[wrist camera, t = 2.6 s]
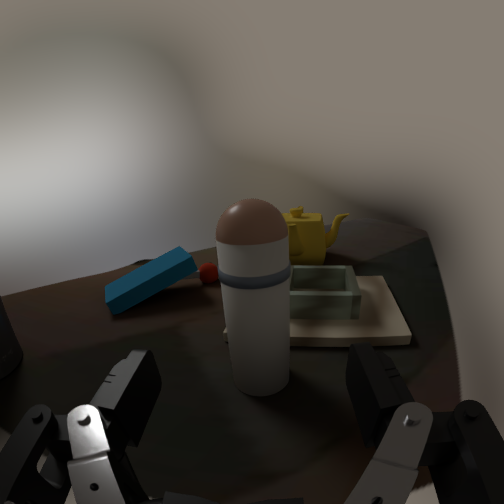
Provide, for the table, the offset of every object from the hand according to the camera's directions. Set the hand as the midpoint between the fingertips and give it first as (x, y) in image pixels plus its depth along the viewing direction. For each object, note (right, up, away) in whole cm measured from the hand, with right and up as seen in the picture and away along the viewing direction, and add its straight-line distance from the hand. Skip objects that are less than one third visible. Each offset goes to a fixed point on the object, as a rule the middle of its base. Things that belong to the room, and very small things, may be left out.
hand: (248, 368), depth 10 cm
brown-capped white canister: (+1, -7, +13) cm, 15 cm away
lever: (-14, -2, +32) cm, 35 cm away
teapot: (+9, +3, +43) cm, 44 cm away
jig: (+9, -3, +24) cm, 26 cm away
